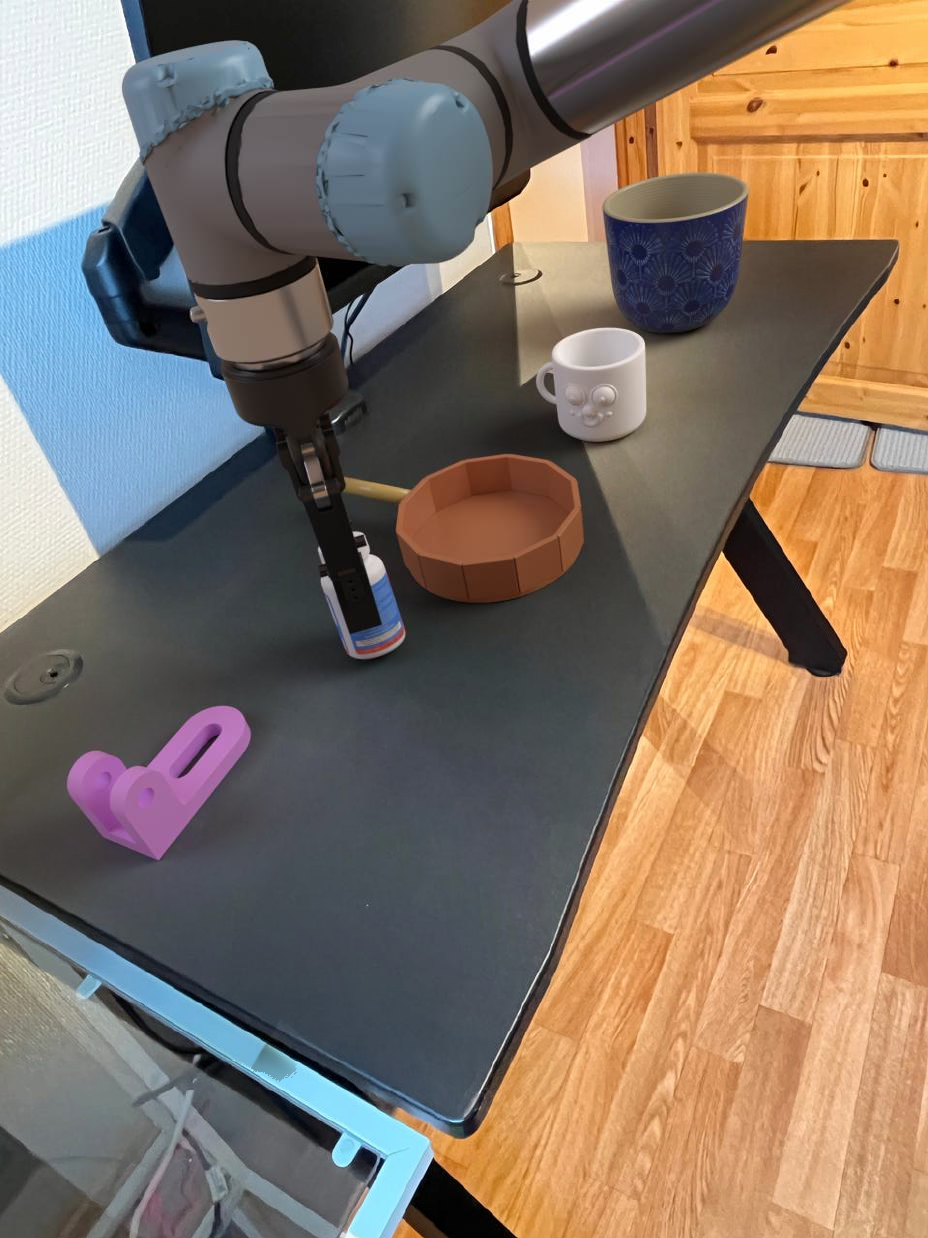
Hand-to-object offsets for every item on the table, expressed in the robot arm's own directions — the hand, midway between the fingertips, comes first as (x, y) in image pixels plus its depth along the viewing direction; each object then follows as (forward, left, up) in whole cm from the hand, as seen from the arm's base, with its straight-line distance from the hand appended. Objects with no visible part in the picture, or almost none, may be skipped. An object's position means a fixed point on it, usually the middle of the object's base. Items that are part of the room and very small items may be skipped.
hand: (364, 624), depth 68 cm
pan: (+16, -10, -5) cm, 19 cm away
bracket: (-6, +16, -5) cm, 18 cm away
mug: (+28, -30, -5) cm, 41 cm away
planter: (+48, -49, -5) cm, 69 cm away
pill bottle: (+2, 0, -5) cm, 5 cm away
